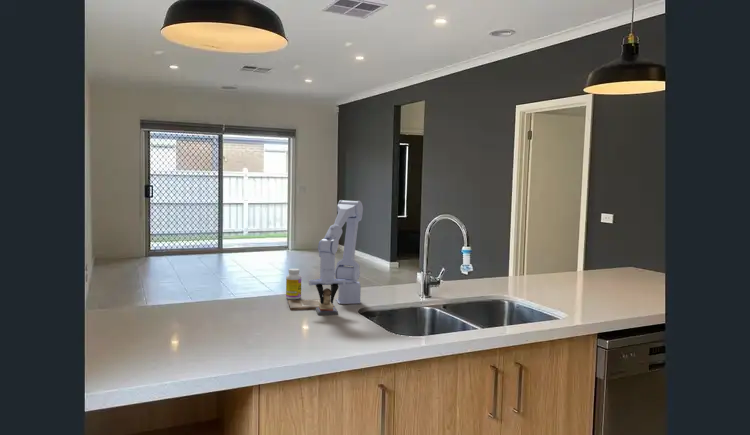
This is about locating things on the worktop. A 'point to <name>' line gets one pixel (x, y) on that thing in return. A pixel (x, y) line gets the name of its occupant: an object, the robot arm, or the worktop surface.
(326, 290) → the stamp
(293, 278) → the supplement bottle
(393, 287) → the worktop surface
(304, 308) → the board
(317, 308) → the ink pad
